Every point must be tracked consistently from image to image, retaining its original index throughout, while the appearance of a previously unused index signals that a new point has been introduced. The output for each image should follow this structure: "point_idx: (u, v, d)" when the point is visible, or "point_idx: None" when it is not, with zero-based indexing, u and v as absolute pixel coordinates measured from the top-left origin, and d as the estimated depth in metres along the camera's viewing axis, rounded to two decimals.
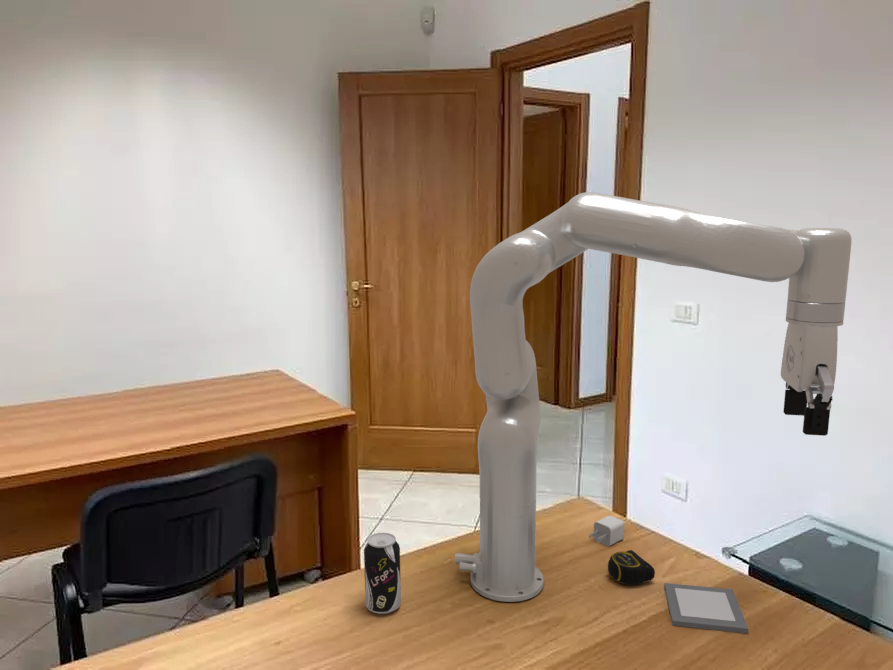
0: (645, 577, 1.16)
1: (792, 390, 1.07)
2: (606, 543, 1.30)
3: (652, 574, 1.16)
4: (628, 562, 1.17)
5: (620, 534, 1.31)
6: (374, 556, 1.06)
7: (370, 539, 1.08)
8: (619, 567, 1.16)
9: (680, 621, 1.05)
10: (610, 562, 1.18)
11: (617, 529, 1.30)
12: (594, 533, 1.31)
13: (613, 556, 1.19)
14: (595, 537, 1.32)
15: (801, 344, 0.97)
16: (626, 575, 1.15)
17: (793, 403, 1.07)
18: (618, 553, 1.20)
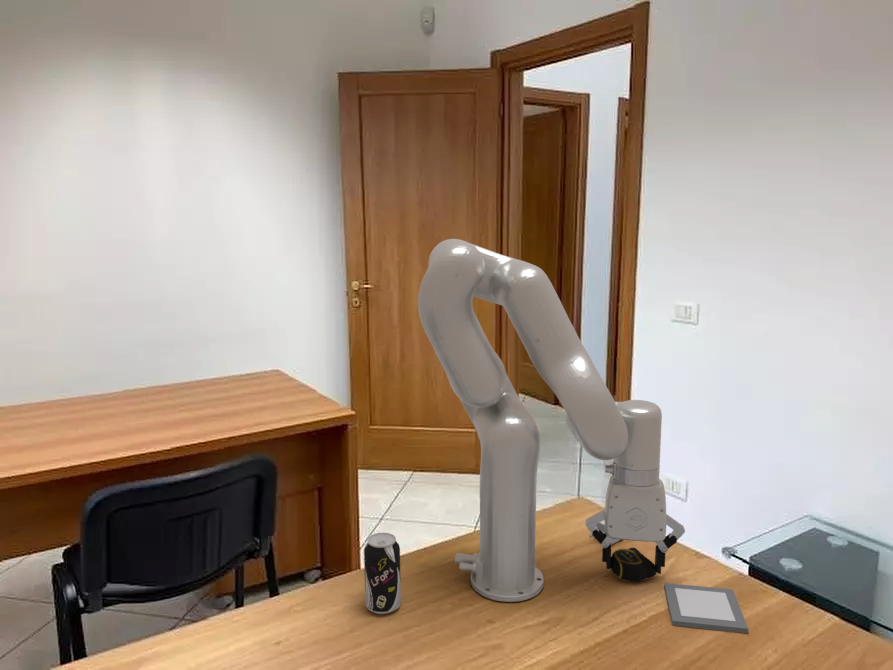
0: (647, 574, 1.16)
1: (610, 546, 1.18)
2: None
3: (654, 571, 1.16)
4: (630, 559, 1.18)
5: None
6: (374, 556, 1.06)
7: (370, 539, 1.08)
8: (621, 564, 1.17)
9: (680, 621, 1.05)
10: (612, 559, 1.19)
11: None
12: None
13: (615, 553, 1.20)
14: None
15: (659, 503, 1.13)
16: (627, 572, 1.16)
17: None
18: (620, 550, 1.21)
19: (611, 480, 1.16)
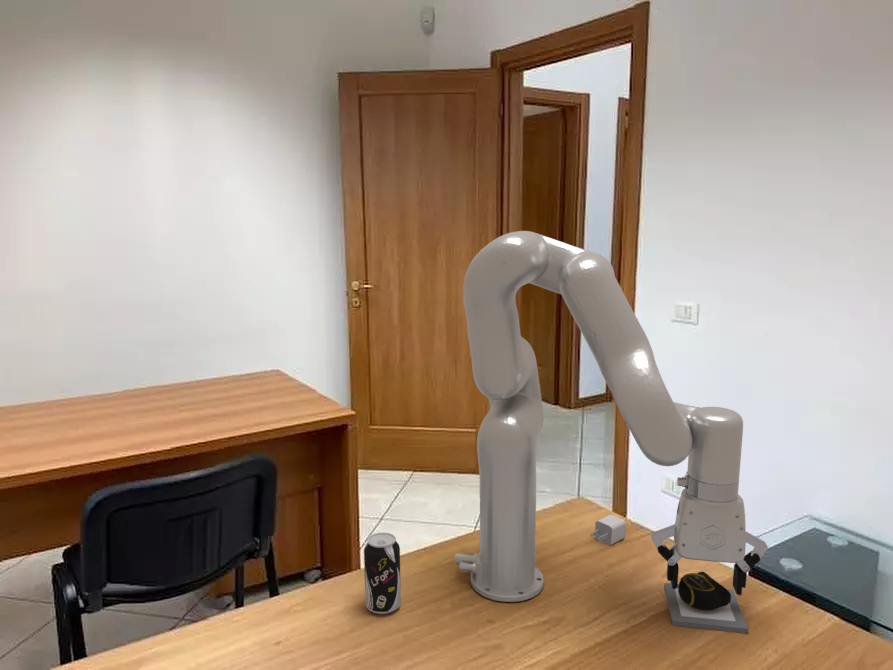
0: (720, 602, 1.06)
1: (676, 563, 1.08)
2: (607, 542, 1.30)
3: (728, 599, 1.07)
4: (701, 585, 1.08)
5: (621, 533, 1.31)
6: (374, 556, 1.06)
7: (370, 539, 1.08)
8: (692, 591, 1.07)
9: (680, 621, 1.05)
10: (681, 585, 1.09)
11: (618, 528, 1.31)
12: (595, 532, 1.31)
13: (684, 578, 1.10)
14: (596, 536, 1.32)
15: (739, 520, 1.03)
16: (699, 600, 1.06)
17: None
18: (689, 574, 1.11)
19: (684, 494, 1.06)
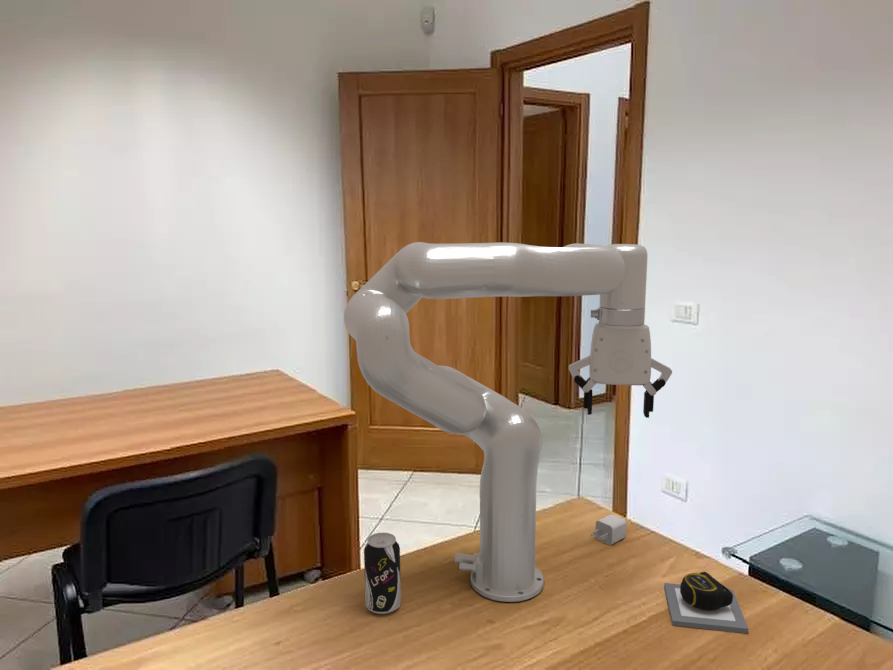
0: (722, 602, 1.06)
1: (591, 391, 1.18)
2: (608, 542, 1.30)
3: (730, 599, 1.06)
4: (703, 585, 1.08)
5: (621, 532, 1.31)
6: (374, 556, 1.06)
7: (370, 539, 1.08)
8: (694, 591, 1.07)
9: (680, 621, 1.05)
10: (683, 585, 1.09)
11: (619, 528, 1.31)
12: (596, 532, 1.31)
13: (686, 578, 1.10)
14: (597, 536, 1.32)
15: (644, 344, 1.13)
16: (701, 600, 1.06)
17: None
18: (691, 575, 1.11)
19: (596, 325, 1.16)
